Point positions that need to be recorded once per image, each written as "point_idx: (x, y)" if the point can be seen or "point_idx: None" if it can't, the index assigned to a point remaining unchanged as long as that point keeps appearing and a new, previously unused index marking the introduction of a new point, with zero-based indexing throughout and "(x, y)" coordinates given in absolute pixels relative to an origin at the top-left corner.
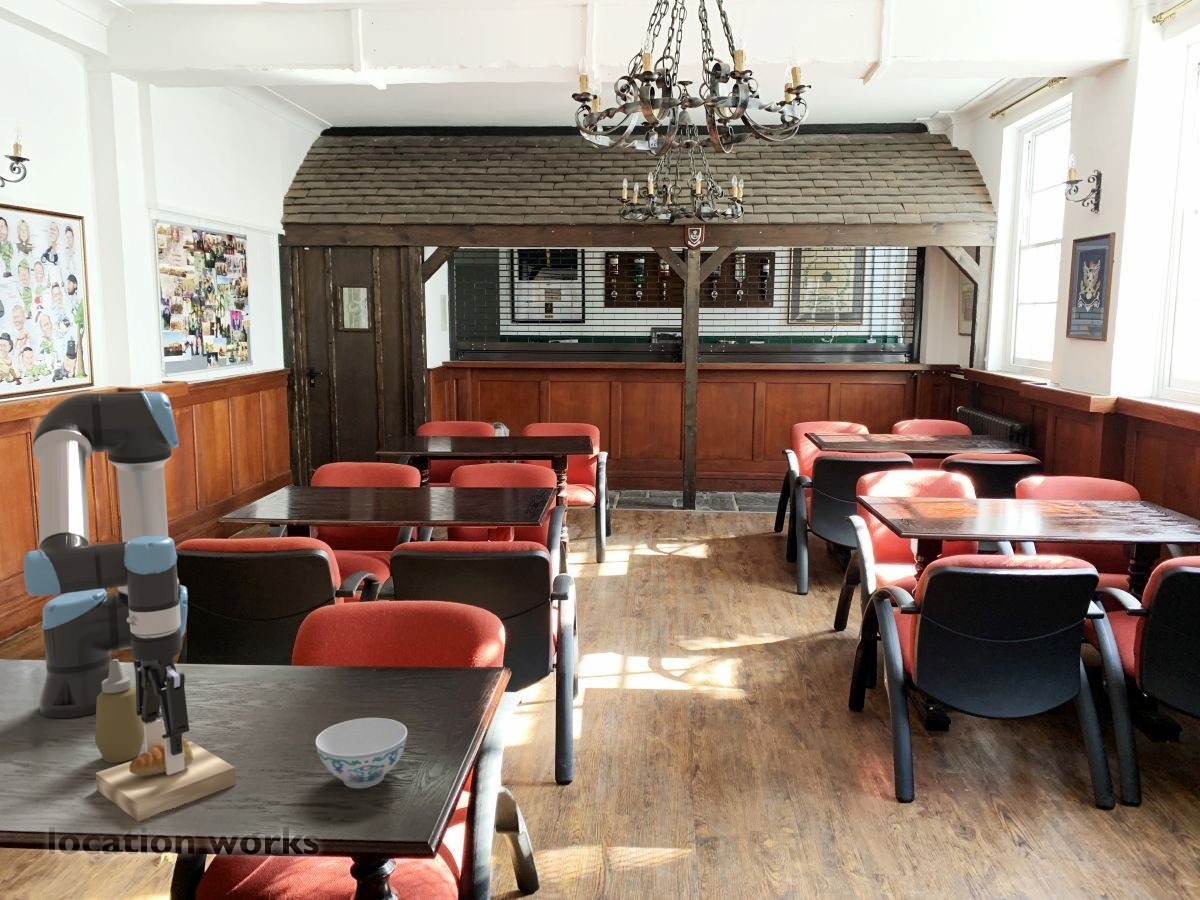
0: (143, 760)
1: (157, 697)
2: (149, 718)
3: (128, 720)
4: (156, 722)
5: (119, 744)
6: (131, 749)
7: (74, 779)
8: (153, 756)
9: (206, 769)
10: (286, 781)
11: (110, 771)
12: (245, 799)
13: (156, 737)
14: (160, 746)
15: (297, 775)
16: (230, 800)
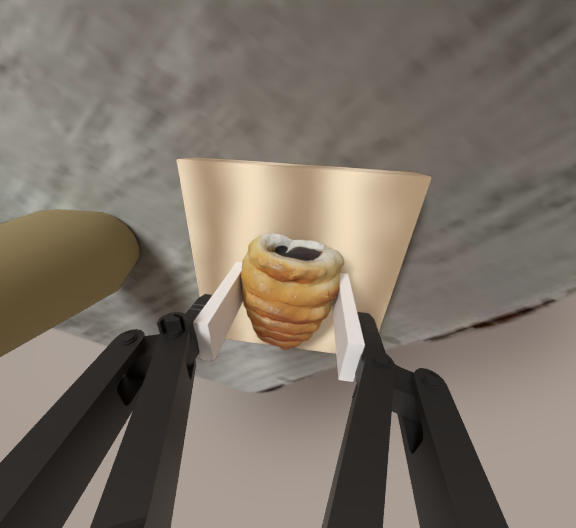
0: (292, 342)
1: (169, 438)
2: (191, 356)
3: (65, 287)
4: (210, 335)
5: (120, 280)
6: (127, 250)
7: (159, 314)
8: (302, 333)
9: (368, 228)
10: (548, 63)
11: None
12: (492, 201)
13: (228, 306)
14: (280, 317)
15: (566, 2)
16: (459, 222)
